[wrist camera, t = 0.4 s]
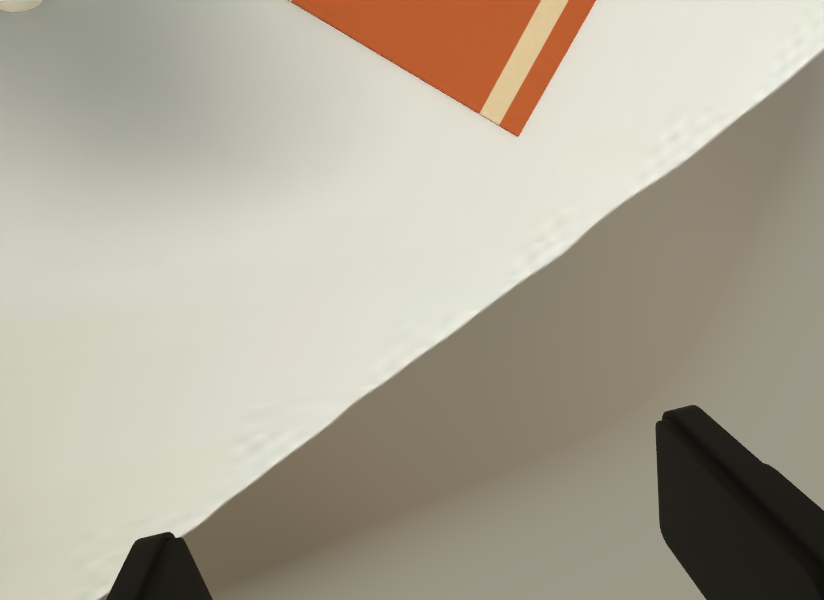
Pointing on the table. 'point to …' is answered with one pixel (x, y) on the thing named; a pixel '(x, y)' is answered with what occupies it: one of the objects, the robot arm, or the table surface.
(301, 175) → the table surface
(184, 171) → the table surface
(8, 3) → the cream animal figurine
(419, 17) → the cloth
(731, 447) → the robot arm
